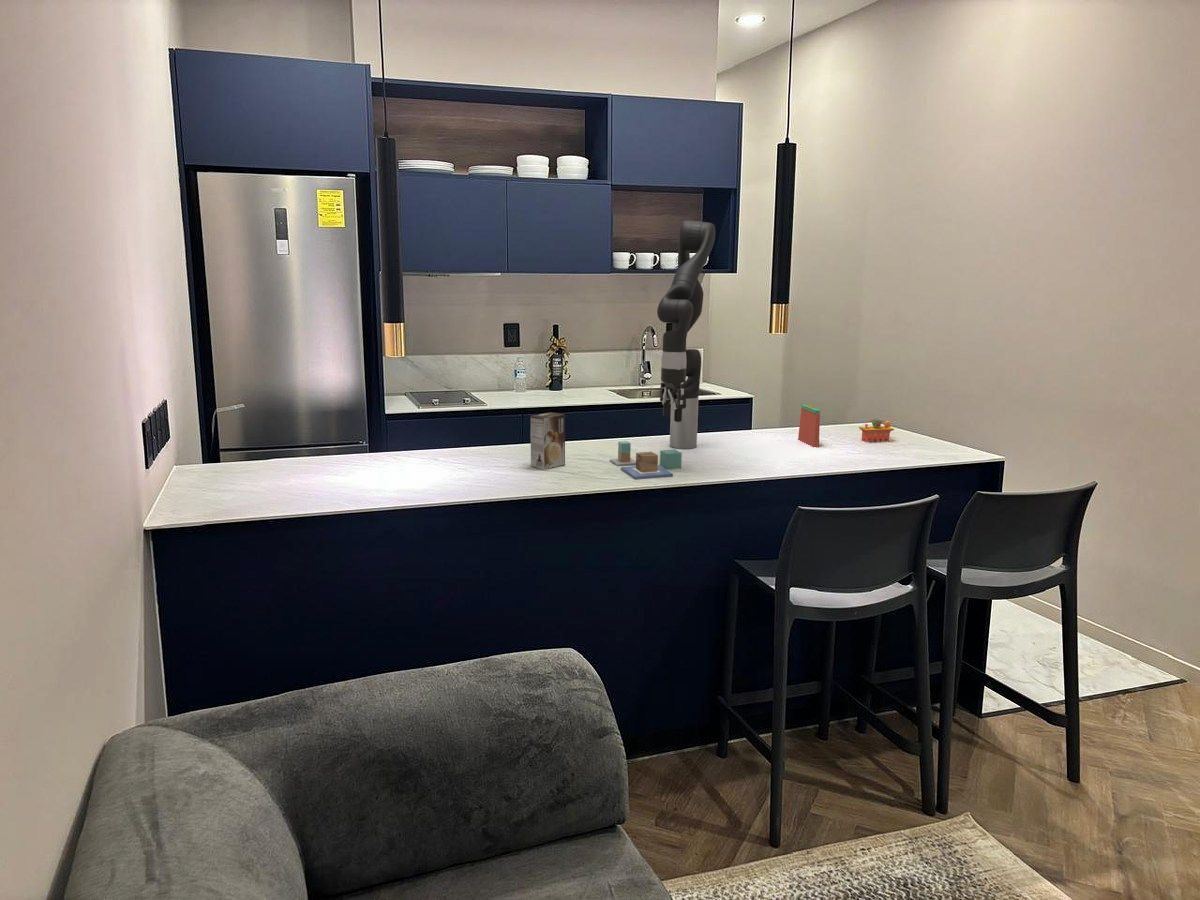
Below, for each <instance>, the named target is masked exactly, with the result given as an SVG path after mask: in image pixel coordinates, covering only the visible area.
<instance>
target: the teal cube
mask: <svg viewBox="0 0 1200 900" xmlns="http://www.w3.org/2000/svg"><path fill="white" fill-rule="evenodd" d="M659 451H660V453H659V455H660V456H659V466H661V467H662V468H664V469H666V470H667V471H668V470H678V469H680V470H681V469H682V460H683V459H682V455H683V453H682V452H681V451H679V450H677V449H676V448H675V449H662V450H659Z"/></svg>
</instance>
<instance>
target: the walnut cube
mask: <svg viewBox="0 0 1200 900" xmlns="http://www.w3.org/2000/svg"><path fill="white" fill-rule="evenodd" d="M635 461H636V465H635V466H636V469H637V470H639V471H640V472H642V473H644V472H657V471H658V465H659V462H658V461H659V455H658V454H656V453H655V452H653V451H642V452H641V451H640V452H638V451H637V452H635Z"/></svg>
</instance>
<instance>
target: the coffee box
mask: <svg viewBox="0 0 1200 900" xmlns="http://www.w3.org/2000/svg"><path fill="white" fill-rule="evenodd" d="M565 415H566V414H565V413H558V412H554V411H552V412H551V411H549V412H543V413H539V414H533V415H530V416H529V418H530V420H529V421H530V422H529V424H530V429H529V431H530V434H529V435H530V467H532V466H534V467H533V468H535V467H538V468H537V469H540V468H542V469H541V470H544V469H545V470H548V469H547V468H549V469H553V468H557V467H561V466H565V465H566V428H565V427H566V417H565ZM552 467H553V468H552Z"/></svg>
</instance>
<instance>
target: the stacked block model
mask: <svg viewBox="0 0 1200 900" xmlns="http://www.w3.org/2000/svg"><path fill="white" fill-rule="evenodd" d="M631 446H632V445H631V442H629V441H627V440H624V441H618V442H617V452H618V453H617V458H610V459H609V462H610V463H612V464H613V465H615V466H616V467H628V466H636V459H633V458H632V457H631V449H632V447H631Z"/></svg>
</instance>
